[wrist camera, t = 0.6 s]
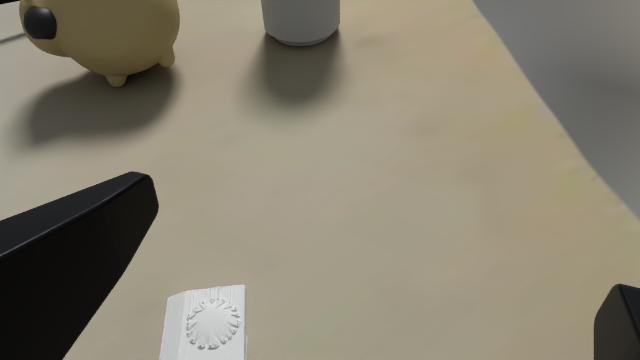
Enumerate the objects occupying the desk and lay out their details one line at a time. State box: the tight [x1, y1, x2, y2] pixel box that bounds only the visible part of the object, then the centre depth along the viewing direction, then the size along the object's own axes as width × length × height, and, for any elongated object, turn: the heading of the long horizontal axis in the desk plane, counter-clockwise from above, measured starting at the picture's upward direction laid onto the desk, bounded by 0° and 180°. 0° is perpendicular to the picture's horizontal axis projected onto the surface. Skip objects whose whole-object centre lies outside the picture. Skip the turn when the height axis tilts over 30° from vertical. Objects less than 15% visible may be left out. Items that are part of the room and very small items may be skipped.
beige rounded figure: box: [19, 0, 180, 87], centre depth 39 cm, size 10×12×11 cm
